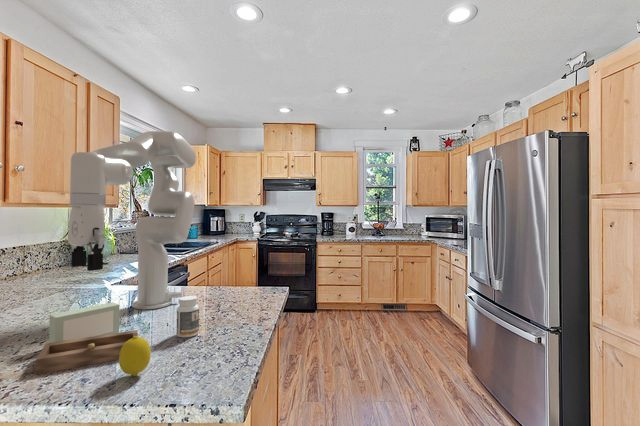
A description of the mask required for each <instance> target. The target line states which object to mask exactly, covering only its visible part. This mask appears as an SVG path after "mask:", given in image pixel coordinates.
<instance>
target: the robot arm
mask: <svg viewBox="0 0 640 426" xmlns="http://www.w3.org/2000/svg"><path fill="white" fill-rule="evenodd" d="M196 154H197V153H196V151H195V149H194V148H193V146H192V145H191V144H189V142H188V141H187V140H186V139H185V138H184V137H183V136H181V135H180V134H179V133H177V132H175V131H167V130H166V131H165V130H164V131H163V130H161V131H159V130H156V131H155V130H152V131H150V130H149V131H145V132H143V133H141V134H139V135H137V136H135V137H133V138H131V139H130V140H129V141H126V142H123V143H117V144H114V145H111V146H106V147H102V148H99V149H95V150H92V151H90V152H88V151H87V152H86V151H85V152H84V151H77V152H74V153H72V155H71V157H70V174H69V175H70V176H69V178H70V181H69V182H70V183H69V185H70V187H69V207H70V208H71V209H70V214H69V220H68V222H69V223H68V235H67V243H68V244H69V245H71V249H70V250H71V259H70V260H71V264H70V265H71V266H70V267H72V268H76V267H77V268H78V267H85V266H87V267H86V269H87V271H88V272H91V271H92V272H93V271H100V270H103V268H104V264H103V263H104V253H105V250H104V248H105V241H106V236H105V214H104V213H105V212H104V208H106V206H107V204H106V202H107V200H106V199H107V196H106V195H107V186H122V185H125V184H128V183H129V182H130V181H132V179H133V176H134V169H137V168H140V167H144V166H146V165H147V164H150V166H151V169H152V171H153V175H154V182H153V186H152V190H151V193H150V197H149V199H148V204H147V208H148V211H149V213H150V214H152V215H151V216H144V217H141V218H140V219H139V220H137V222H136V225H135V229H134V232H135V237H136V241H137V242H136V243H137V252H138V253H137V254H138V255H137V257H138V259H137V292H136V293H137V300H135V301H134V302H132V304H131V306H132V308H133V309H135V310H142V311H143V310H144V311H145V310H154V309H155V310H156V309H161V308H165V307H168V306H170V305H172V304H173V299H177V298H178V299H179V298H181V297H182V292H181V291H179V292H177V291H173V292H171V291H169V289H168V284H169V283H168V280H169V278H168V271H169V255H168V254H169V253H168V251H167V249H166V248H165V245H164V244H182V243H184V242H186V241H187V239H188V237H189V234H190V229H191V226H192V220H193V216H194V212H195V199H194V196H193V194H192V193H191V192H189V191H185V190H179V187H180V186H179V185H180V181H179V180H178V178H177V176H176V174H175V173H174V172H173V171H172V170H171V169H190V168H192V167H194V166H195V164H196V162H197V155H196ZM86 247H87V249H88V253H89V254H88V253H87V250H86Z"/></svg>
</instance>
